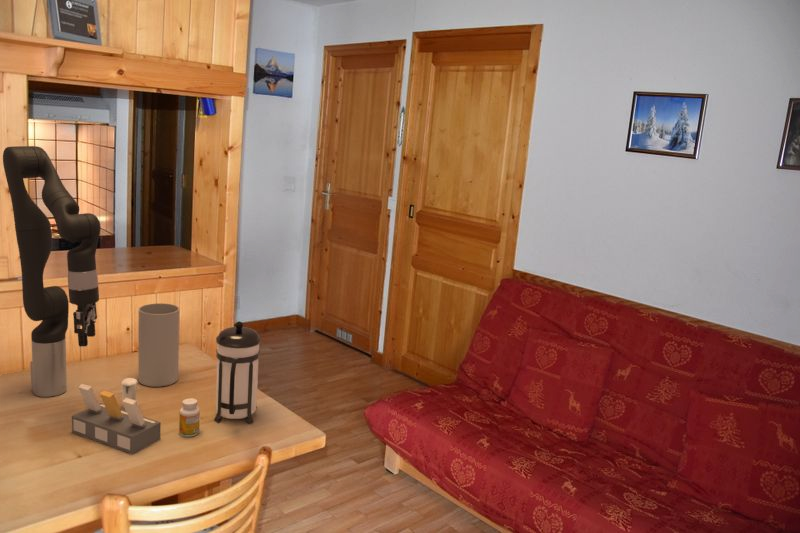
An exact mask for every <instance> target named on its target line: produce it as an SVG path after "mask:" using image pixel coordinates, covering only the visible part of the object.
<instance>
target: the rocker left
mask: <svg viewBox="0 0 800 533" xmlns="http://www.w3.org/2000/svg"><path fill="white" fill-rule="evenodd" d="M77 388H78V390H79V393H80V394H81V396H82V399H83V401H84V403H85V406H86V409H89V410H92V411H95V412H98V413H101V412H102V410H101V409H100V408H101V407H100V405H99V404H100V403H99V400H98V398H97V396H96V393H95V392H94V389H93V387H92V386H90V385H87V384H84V383H81V384H80V385H79V386H78V387H77Z"/></svg>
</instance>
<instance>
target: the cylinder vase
mask: <svg viewBox="0 0 800 533" xmlns="http://www.w3.org/2000/svg"><path fill="white" fill-rule="evenodd" d="M179 345H180V306H177V305H175V304H171V303H163V302H162V303H161V302H160V303H157V302H156V303H148V304H145V305H144V304H143V305H141V306H140V307H138V368H137V370H138V372H137V373H138V378H139V379H138V378H137V379H138V382H139V383H140V384H141V385H142V386H146V387H149V388H150V387H151V388H160V387H161V388H163V387H168V386H170V385H173V384H174V383H176V382H177V381H178V380H179V365H180V364H179V360H180V359H179V358H180V356H179V350H180V346H179Z"/></svg>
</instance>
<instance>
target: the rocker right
mask: <svg viewBox="0 0 800 533" xmlns="http://www.w3.org/2000/svg"><path fill="white" fill-rule="evenodd" d="M123 404H124V407H125V409H124V410H125V411H126V412H127V414H128V417H129V419H130V421H131V424H134V425H137V426H140V427H143V428H145V427H146V424H144V423H145V422H144V419H143V417H144V416H143V414H142V412H141V409H140V406H139V404H138V401H137V400H136V401H135V400H132V399H129V398H125V399H124V400H123V399H122V405H123ZM124 407H123V408H124Z"/></svg>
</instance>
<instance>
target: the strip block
mask: <svg viewBox="0 0 800 533" xmlns="http://www.w3.org/2000/svg"><path fill="white" fill-rule="evenodd" d="M99 405H100V407H101V408H100V409H101V410H102V412H101V413H98V412H95V411H92V410H89V409H88V408H86V409H85V410H82V411H80V412H77V413H75V414H73V415H71V433H73V434H74V435H78V436H80V437H84V438H86V439H89V440H92V441H95V442H98V443H100V444H103V445H106V446H108V447H112V448H114V449H117V450H120V451H123V452H126V453H128V454H131V455H135V454H136V453H138V452H139V451H141V450H144V449H145V448H147V447H148V446H150V445H152V444H154V443H155V442H158V441H159V440H161V426H162V424H161V422H160V421H158V420H155V419H151V418H149V417H145V416H143V419H144V422H145V423H144V424H146V427H145V428H143V427H140V426H137V425H134V424H131V421H130V419H129V417H128V414H127V412H126V410H125V409H121V408H120V410H121V413H122V416H123V417H124V419H123V420H119V419H116V418H113V417H110V416H109V414H108V412H107V410H106V407H105V405H104V403H103V402H100V403H99Z"/></svg>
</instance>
